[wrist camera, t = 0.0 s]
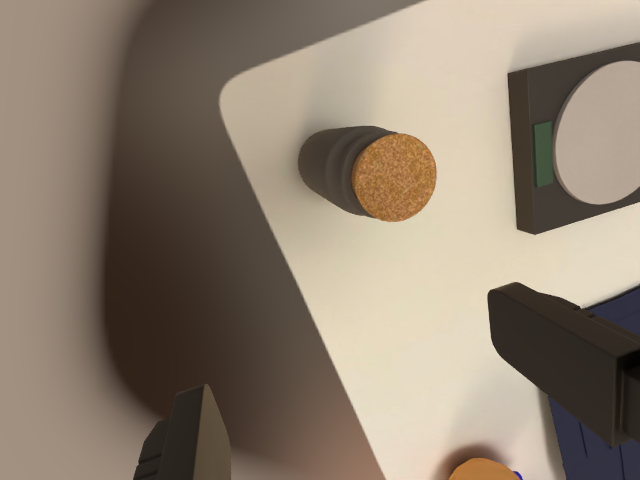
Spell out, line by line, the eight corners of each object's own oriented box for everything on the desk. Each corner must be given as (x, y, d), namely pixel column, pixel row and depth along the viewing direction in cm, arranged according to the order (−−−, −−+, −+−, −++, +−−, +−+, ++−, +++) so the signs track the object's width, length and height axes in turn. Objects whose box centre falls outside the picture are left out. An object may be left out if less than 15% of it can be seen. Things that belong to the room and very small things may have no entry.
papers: (559, 509, 52) (581, 533, 49) (516, 322, 47) (538, 334, 43) (697, 440, 56) (727, 457, 52) (672, 256, 50) (705, 262, 46)
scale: (507, 73, 35) (532, 67, 33) (644, 41, 38) (678, 33, 35) (517, 229, 40) (539, 236, 37) (637, 192, 43) (667, 196, 40)
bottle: (336, 115, 33) (413, 98, 19) (370, 169, 35) (464, 189, 21) (284, 156, 33) (322, 168, 19) (322, 207, 35) (382, 253, 21)
